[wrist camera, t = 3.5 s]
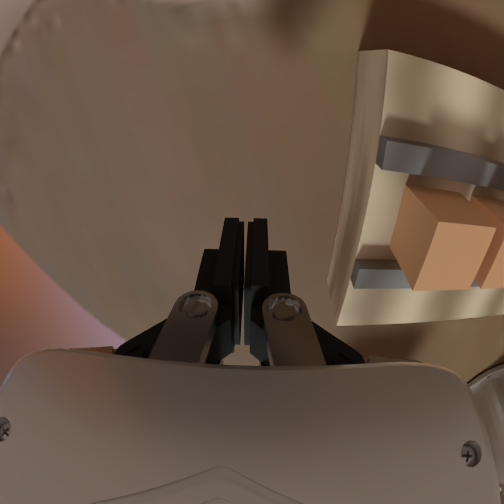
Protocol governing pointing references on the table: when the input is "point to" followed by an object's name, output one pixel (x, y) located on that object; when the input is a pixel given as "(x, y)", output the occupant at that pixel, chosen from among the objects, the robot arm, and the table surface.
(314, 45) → the table surface
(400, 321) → the slot board
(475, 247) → the chip
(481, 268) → the light brown block
